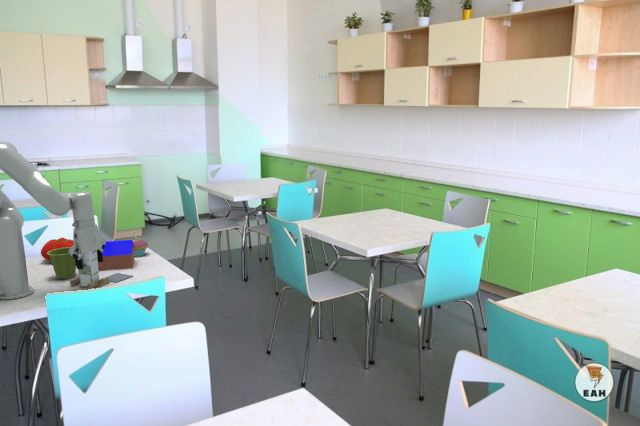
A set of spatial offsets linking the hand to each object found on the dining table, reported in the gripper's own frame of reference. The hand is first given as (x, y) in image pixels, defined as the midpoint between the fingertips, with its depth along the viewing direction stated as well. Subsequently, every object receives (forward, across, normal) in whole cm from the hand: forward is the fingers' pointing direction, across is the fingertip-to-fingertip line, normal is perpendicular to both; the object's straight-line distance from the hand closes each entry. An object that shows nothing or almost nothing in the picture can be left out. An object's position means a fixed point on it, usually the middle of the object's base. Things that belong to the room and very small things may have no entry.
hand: (90, 265), depth 217 cm
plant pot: (+8, +2, +19) cm, 20 cm away
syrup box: (+8, -1, +1) cm, 8 cm away
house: (+9, +22, +14) cm, 27 cm away
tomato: (+8, +18, +42) cm, 46 cm away
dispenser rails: (+8, -1, +1) cm, 8 cm away
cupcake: (+9, +41, +16) cm, 44 cm away
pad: (+8, +10, -2) cm, 13 cm away
